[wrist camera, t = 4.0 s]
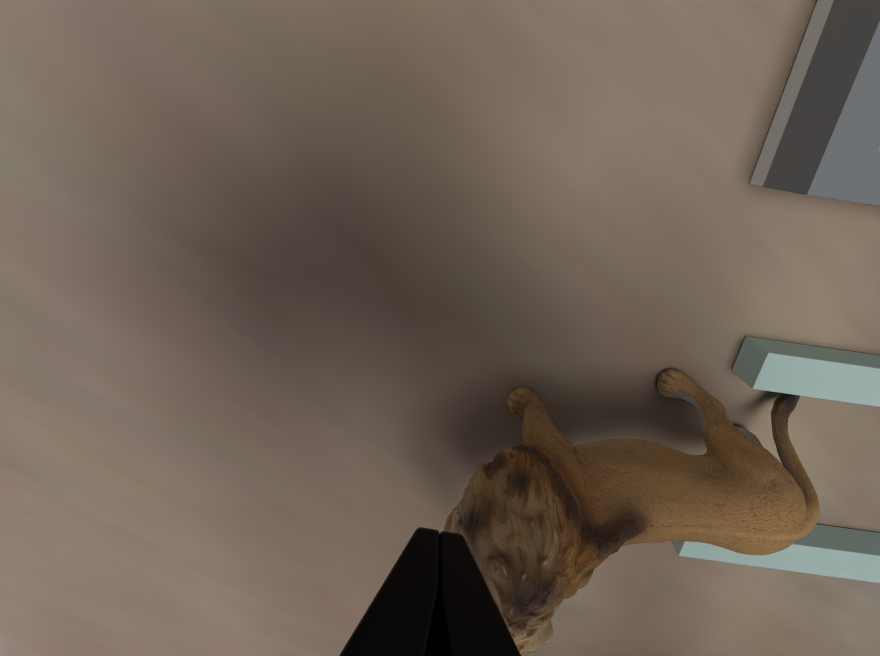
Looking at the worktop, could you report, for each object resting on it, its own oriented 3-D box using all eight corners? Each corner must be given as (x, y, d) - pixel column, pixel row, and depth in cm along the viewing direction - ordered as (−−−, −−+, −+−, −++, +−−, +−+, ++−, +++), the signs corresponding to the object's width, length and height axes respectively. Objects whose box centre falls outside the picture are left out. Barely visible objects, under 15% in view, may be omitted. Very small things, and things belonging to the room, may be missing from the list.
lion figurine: (455, 497, 23) (453, 713, 14) (424, 402, 21) (401, 586, 12) (790, 435, 21) (1014, 642, 12) (790, 322, 19) (1055, 477, 10)
